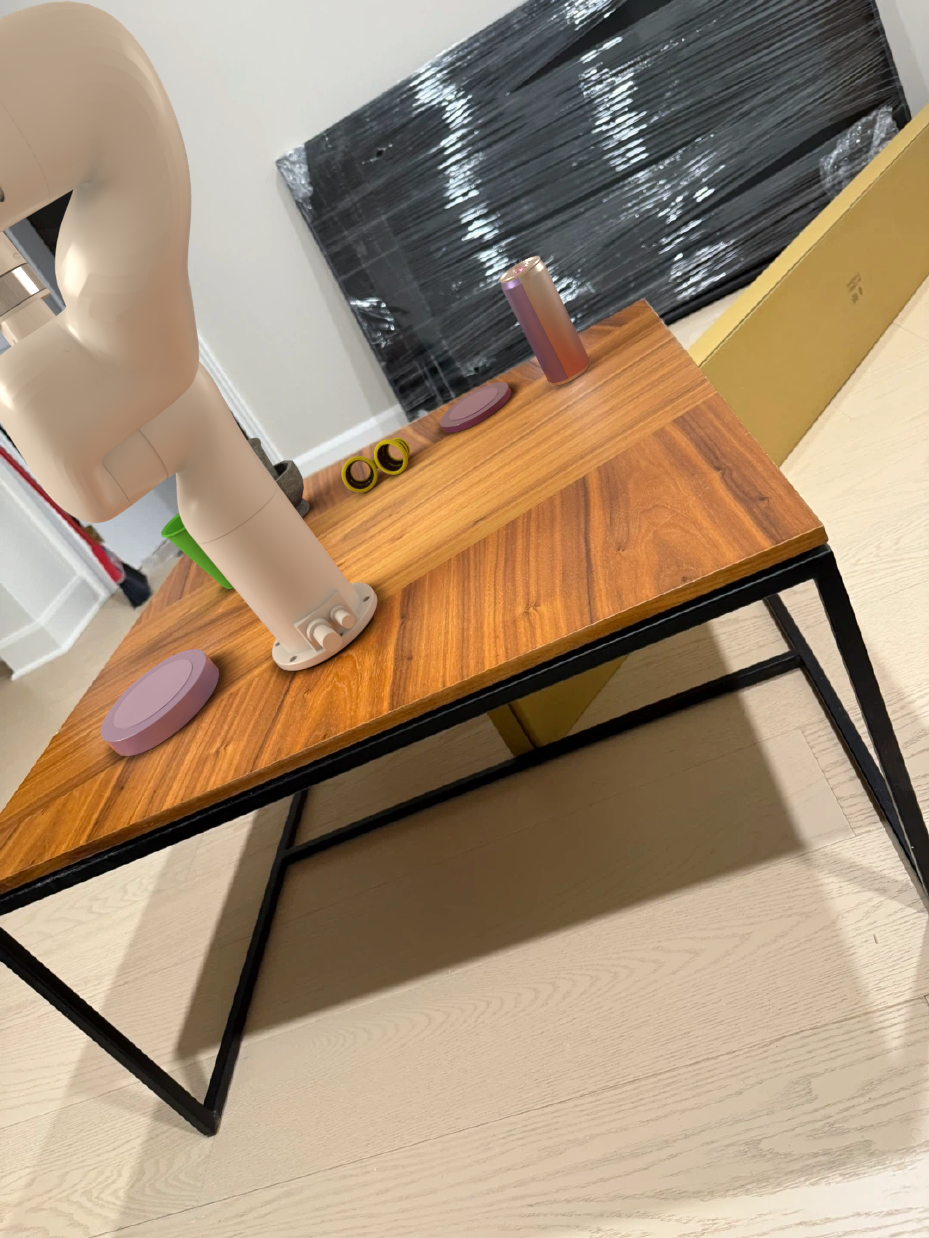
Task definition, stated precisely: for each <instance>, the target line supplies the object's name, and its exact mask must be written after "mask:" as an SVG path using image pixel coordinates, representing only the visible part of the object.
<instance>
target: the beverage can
mask: <svg viewBox="0 0 929 1238" xmlns="http://www.w3.org/2000/svg"><path fill="white" fill-rule="evenodd" d="M498 281H499V283H500V285H501V290H502V292H503V294H504V296H505V298H506V301H507V302H508V303H509V304H508V305H509V306H510V309H511V310H512V312H513V314H514V316H515V319H516V320H517V322H518V324H519V326H520V328H521V331H522V333H523V334H524V336H525V338H526V340H527V342H528V344H529V347H530V348H531V350H532V352H533V354H534V356H535V358H536V360H537V362H538V364H539V366H540V368H541V369H542V372H543V374H544V376H545V378H546V380H547V381H548V383H550V384H552V385H554V386H562V385H566V384H568V383H570V382H572V381H574V380H575V379H577V378H579V377H580V376H581V375H583V374H584V373H585V372H586V371H587V370H588V369H589V366H590V358H589V355H588V352H587V351H586V349H585V347H584V345H583V342H582V340H581V338H580V336H579V334H578V331H577V329H576V327H575V325H574V323H573V321H572V318H571V317H570V314H569V312H568V311H567V307H566V306H565V304H564V301H563V299H562V298H561V295H560V293H559V291H558V289H557V287H556V284H555V282H554V280H553V278H552V276H551V274H550V272H549V270H548V267H547V266H546V263H545V262H543V261H542V259H541V256H539V255H534V256H530V257H528V258H526V259H523V260H522V261H520V262H518V263H516V264H515V265H513V266H512V267H511V268H509V269H508V270H506V271H505V272H504V273H503V274H501V276H500V277H499V280H498Z"/></svg>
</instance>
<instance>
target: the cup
mask: <svg viewBox="0 0 929 1238" xmlns="http://www.w3.org/2000/svg"><path fill="white" fill-rule="evenodd" d="M160 533H161V537H162V538H164V539H165V538H166V539H168V540H169V541H170V542H171V543H172V544H174V546H176V547H177V548H178V549H179V550H180V551H182V553H184V554H185V555H186V556H187V557H188V558H190V559H191V560H192V562H194V563H195V564H196V565H198V567H200V568H201V569H202V570H203V571H205V573H207V574H208V575H209V576H210V577H211V578H212V579H214V581H216V582H217V583H218V584H219V585H220V586H222V587H223V588H225V589H227V590H232V589H234V587H233V586H232V585H231V584H230V582H229V581H228V580H227V579H226V578H225V576H224V575H223V574H222V573H221V572H220V570H219V569H218V568H217V567H216V565H215V564H214V563H213V562H212V561H211V559H210V558H209V557H208V556H207V555H206V553H205V552H204V551H203V550H202V549H201V547H200V546H199V545H198V544H197V542H196V541H195V540H194V539H193V538H192V536H191V535H190V534H189V533H188V531H187V530H186V528H185V526H184V524H183V522H182V520H181V517H180V514H179V512H178V513H177V514H175V515H174V516H173V517H172V518H171V519H170V520H169V521H168V522H167V523H166V524H165V525H164V526H163V528H162V530H161V532H160Z"/></svg>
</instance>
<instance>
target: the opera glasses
mask: <svg viewBox="0 0 929 1238" xmlns="http://www.w3.org/2000/svg"><path fill="white" fill-rule="evenodd" d="M390 445H392V446H394V447H395V448H396V449H398V450H399V452H400V453H401V457H402V458H395V457H394V456H393V455H392V454H391V452H390ZM410 455H411V446H410V445H409V442H408V441H407V440H406V439H404V438H402V437H398V436H397V437H396V436H395V437H392V438H391V439H390V438H388V439H387V438H385V439H382V440H380V441H379V442H378V443H377V444H376V445H375V447H374V450H373V459H372V458H371V459H369V458H368V457H366V456H362V455H355V456H352V457H350V458H348V459H347V460H346V461H345V463H344V464H343V465H342V469H341V480H342V482H343V484H344V486H345V487H346V488H347V489H348V490H350V491H352V492H354V493H357V494H364V493H366V492H369V491H371V490H372V489H373V488H374V486H375V485H376V484H377V481H378V476H379V474H378V469H380V470H381V471H382V472H383V473H385V474H387V475H390V476H391V475H392V476H396V475H401V474H402V473H403V472H404V471H405V470H406V469H407V467H408V464H409V457H410ZM358 462H363V463H365V464H367V465H368V469H369V474H368V476H367V477H366V478H365V479H357V478H356V477H355V476H354V475H353V472H352V468H353V466H354V464H356V463H358Z"/></svg>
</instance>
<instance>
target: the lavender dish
mask: <svg viewBox="0 0 929 1238" xmlns="http://www.w3.org/2000/svg"><path fill="white" fill-rule="evenodd" d="M219 679H220V669H219V667H218V666H217V665H216V664H215V663H214V661H213V660H212V659H211V658H210V657H209V656H208V655H207V654H206V652H205V651H204V650H202V649H199V648H192V649H186V650H184V651H181V652H177V653H175V654H173V655H172V656H169V657H168V658H166V659H163V660H162V661H160V662H159V663H157V664H155V666H153V667H152V668H150V669H149V670H147V672H145V673H144V674H142V675H141V676H140V677H139V678H138V679H137V680H135V681H134V682H133V683H132V684H131V685H130V686H129V687H128V688H127V689H126V690H125V691H124V692H123V693H122V694H121V695H120V696H119V697H118V698H117V700H116V701H115V702H114V704H113V705H112V706H111V707H110V709H109V710H108V712H107V713H106V714H105V717H104V718H103V721H102V724H101V727H100V733H99V734H100V737H101V739H102V740H103V741H104V742H105V743H106V744H107V745H108V746H109V747H110V748H111V749H112V750H113V751H114V752H115V753H117V754H118V755H119V756H123V757H132V756H136V755H139V754H142V753H145V752H147V751H149V750H152V749H154V748H155V747H157V746H159V745H160V744H162V743H164V742H165V741H166V740H168V739H169V738H171V737H172V736H174V735H175V734H176V733H178V731H180V730H181V729H182V728H183V727H184V726H185V725H187V724H188V723H189V722H191V720H192V719H193V718H194V717H195V716H196V715H197V714H198V713H199V712H200V710H201V709H202V708H204V706H205V704H206V703H207V702H208V700H209V699H210V698H211V696H212V694H213V693H214V691H215V689H216V687H217V685H218V682H219Z"/></svg>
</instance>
